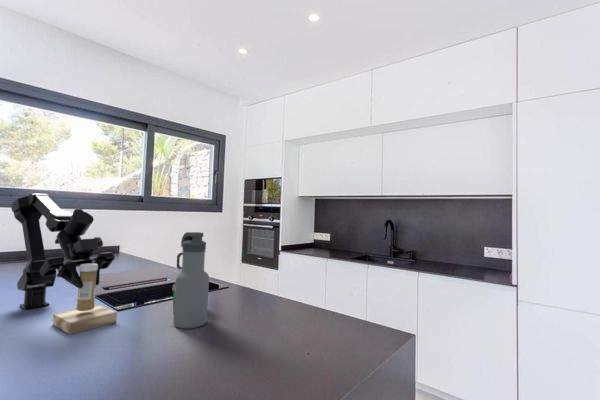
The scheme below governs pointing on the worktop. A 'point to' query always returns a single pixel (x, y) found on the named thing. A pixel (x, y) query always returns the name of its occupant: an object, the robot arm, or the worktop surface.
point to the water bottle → (191, 283)
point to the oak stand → (84, 319)
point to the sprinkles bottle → (87, 287)
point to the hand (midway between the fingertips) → (89, 285)
